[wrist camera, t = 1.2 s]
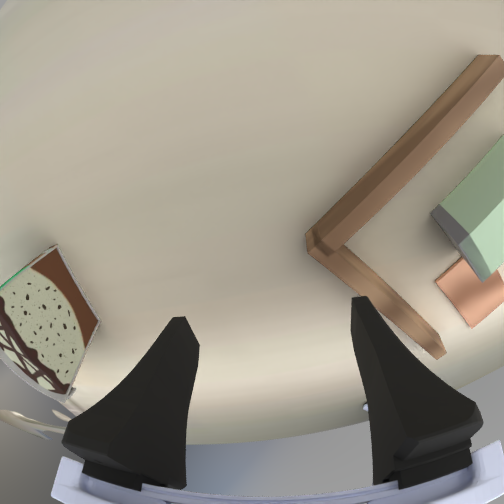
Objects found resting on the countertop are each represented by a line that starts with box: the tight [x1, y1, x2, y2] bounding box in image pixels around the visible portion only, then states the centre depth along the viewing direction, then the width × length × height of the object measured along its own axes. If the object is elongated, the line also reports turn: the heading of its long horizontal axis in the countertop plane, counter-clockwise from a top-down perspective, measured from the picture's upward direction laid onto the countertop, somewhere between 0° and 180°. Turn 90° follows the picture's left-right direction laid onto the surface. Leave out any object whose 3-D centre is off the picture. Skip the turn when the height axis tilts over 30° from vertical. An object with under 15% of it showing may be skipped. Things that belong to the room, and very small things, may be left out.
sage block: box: [430, 134, 504, 283], centre depth 15 cm, size 5×9×4 cm, turn 142°
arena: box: [305, 55, 504, 360], centre depth 18 cm, size 21×19×2 cm
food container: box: [0, 244, 101, 403], centre depth 22 cm, size 12×6×10 cm, turn 13°
